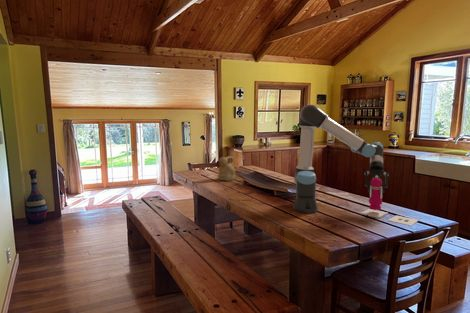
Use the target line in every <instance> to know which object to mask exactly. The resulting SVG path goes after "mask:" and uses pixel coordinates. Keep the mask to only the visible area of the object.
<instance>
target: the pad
mask: <svg viewBox="0 0 470 313" xmlns="http://www.w3.org/2000/svg"><path fill="white" fill-rule="evenodd" d="M360 214H361V215H364V216H367V215H368V217H371V218H377V219H382V218H383V217H385V216H388V214H389V212H386V211H382V210H372V209H370V208H368V209H366V210H363V211H362V212H361V213H360Z"/></svg>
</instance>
